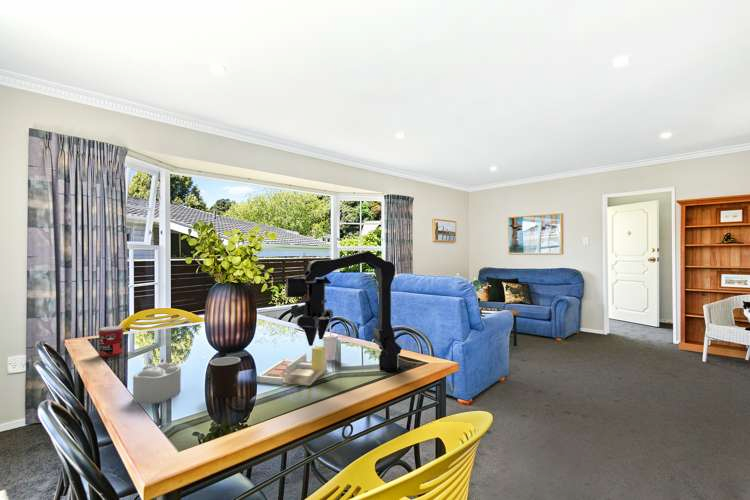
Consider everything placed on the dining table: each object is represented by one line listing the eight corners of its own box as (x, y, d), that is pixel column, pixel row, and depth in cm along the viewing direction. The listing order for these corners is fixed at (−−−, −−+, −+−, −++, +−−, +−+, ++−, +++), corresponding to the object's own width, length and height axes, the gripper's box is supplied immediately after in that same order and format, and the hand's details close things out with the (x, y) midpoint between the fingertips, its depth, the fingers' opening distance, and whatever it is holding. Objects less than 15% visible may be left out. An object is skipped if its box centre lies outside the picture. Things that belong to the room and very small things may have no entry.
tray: (305, 366, 136) (305, 361, 136) (281, 384, 117) (281, 378, 117) (282, 364, 138) (283, 359, 138) (256, 382, 119) (256, 376, 119)
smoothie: (339, 357, 148) (339, 323, 148) (336, 362, 141) (336, 326, 142) (323, 357, 148) (324, 322, 149) (319, 361, 142) (320, 325, 142)
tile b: (279, 365, 130) (279, 370, 130) (274, 368, 126) (274, 374, 126) (290, 365, 129) (290, 371, 129) (285, 369, 125) (285, 375, 125)
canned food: (94, 356, 147) (94, 328, 147) (113, 350, 155) (113, 325, 155) (108, 357, 145) (108, 330, 145) (127, 352, 153) (127, 326, 153)
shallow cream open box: (326, 369, 133) (326, 361, 133) (309, 385, 117) (309, 376, 117) (303, 367, 134) (303, 359, 134) (283, 383, 119) (284, 373, 119)
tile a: (286, 360, 135) (286, 366, 135) (281, 364, 131) (281, 369, 131) (296, 361, 134) (296, 367, 134) (291, 364, 130) (291, 370, 130)
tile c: (273, 369, 125) (273, 375, 125) (267, 373, 121) (267, 379, 121) (283, 370, 124) (283, 376, 124) (278, 374, 120) (278, 380, 120)
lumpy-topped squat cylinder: (127, 402, 103) (127, 371, 103) (159, 385, 116) (159, 358, 116) (160, 404, 102) (161, 373, 102) (189, 387, 115) (189, 359, 115)
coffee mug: (229, 401, 104) (229, 366, 104) (202, 398, 106) (203, 364, 106) (251, 386, 116) (251, 355, 116) (226, 384, 117) (227, 353, 117)
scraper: (330, 362, 132) (330, 342, 132) (315, 375, 117) (315, 354, 117) (304, 360, 134) (304, 341, 134) (286, 373, 119) (286, 352, 119)
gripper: (305, 293, 136) (304, 335, 136) (282, 299, 118) (281, 347, 118) (333, 294, 134) (333, 336, 133) (314, 300, 115) (314, 350, 115)
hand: (315, 342), depth 125 cm, fingers open, 9 cm apart
